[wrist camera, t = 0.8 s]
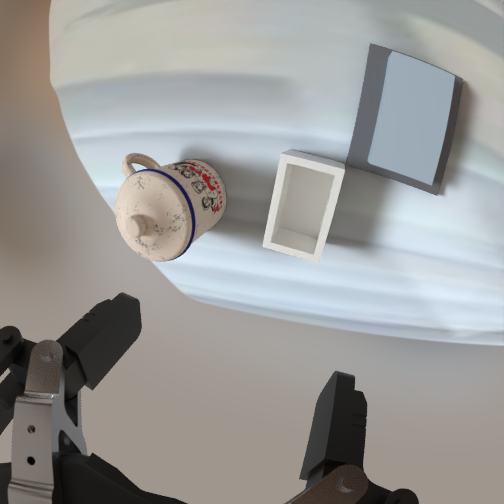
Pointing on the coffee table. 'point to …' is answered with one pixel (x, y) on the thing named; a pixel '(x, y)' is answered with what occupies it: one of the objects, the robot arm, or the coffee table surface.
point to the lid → (412, 118)
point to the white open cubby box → (303, 204)
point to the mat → (370, 113)
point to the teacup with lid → (167, 205)
